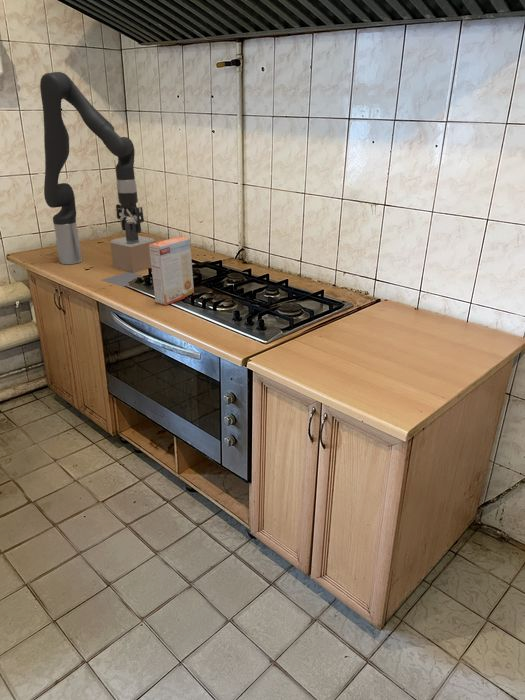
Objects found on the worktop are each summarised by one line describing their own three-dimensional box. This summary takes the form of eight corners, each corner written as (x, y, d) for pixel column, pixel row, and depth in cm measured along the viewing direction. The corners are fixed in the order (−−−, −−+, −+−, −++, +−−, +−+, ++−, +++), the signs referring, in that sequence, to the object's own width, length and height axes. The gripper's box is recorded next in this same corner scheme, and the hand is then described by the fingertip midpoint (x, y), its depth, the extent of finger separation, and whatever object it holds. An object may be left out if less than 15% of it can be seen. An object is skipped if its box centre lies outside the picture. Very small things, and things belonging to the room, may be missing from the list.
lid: (111, 242, 221) (108, 223, 217) (134, 237, 229) (132, 218, 226) (130, 247, 213) (128, 227, 210) (154, 241, 222) (152, 221, 219)
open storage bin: (113, 268, 225) (110, 242, 220) (137, 261, 234) (135, 236, 230) (133, 273, 218) (130, 247, 213) (157, 266, 227) (155, 241, 222)
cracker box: (183, 292, 196) (179, 235, 187) (194, 295, 192) (191, 238, 184) (153, 302, 186) (148, 243, 177) (165, 306, 183) (159, 246, 174)
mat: (101, 280, 209) (100, 279, 209) (129, 272, 219) (129, 271, 219) (123, 287, 201) (123, 286, 201) (151, 278, 211) (151, 277, 211)
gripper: (108, 190, 214) (113, 230, 221) (131, 193, 206) (135, 235, 213) (123, 188, 219) (127, 227, 226) (146, 191, 211) (150, 232, 218)
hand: (131, 231), depth 219 cm, fingers open, 8 cm apart
